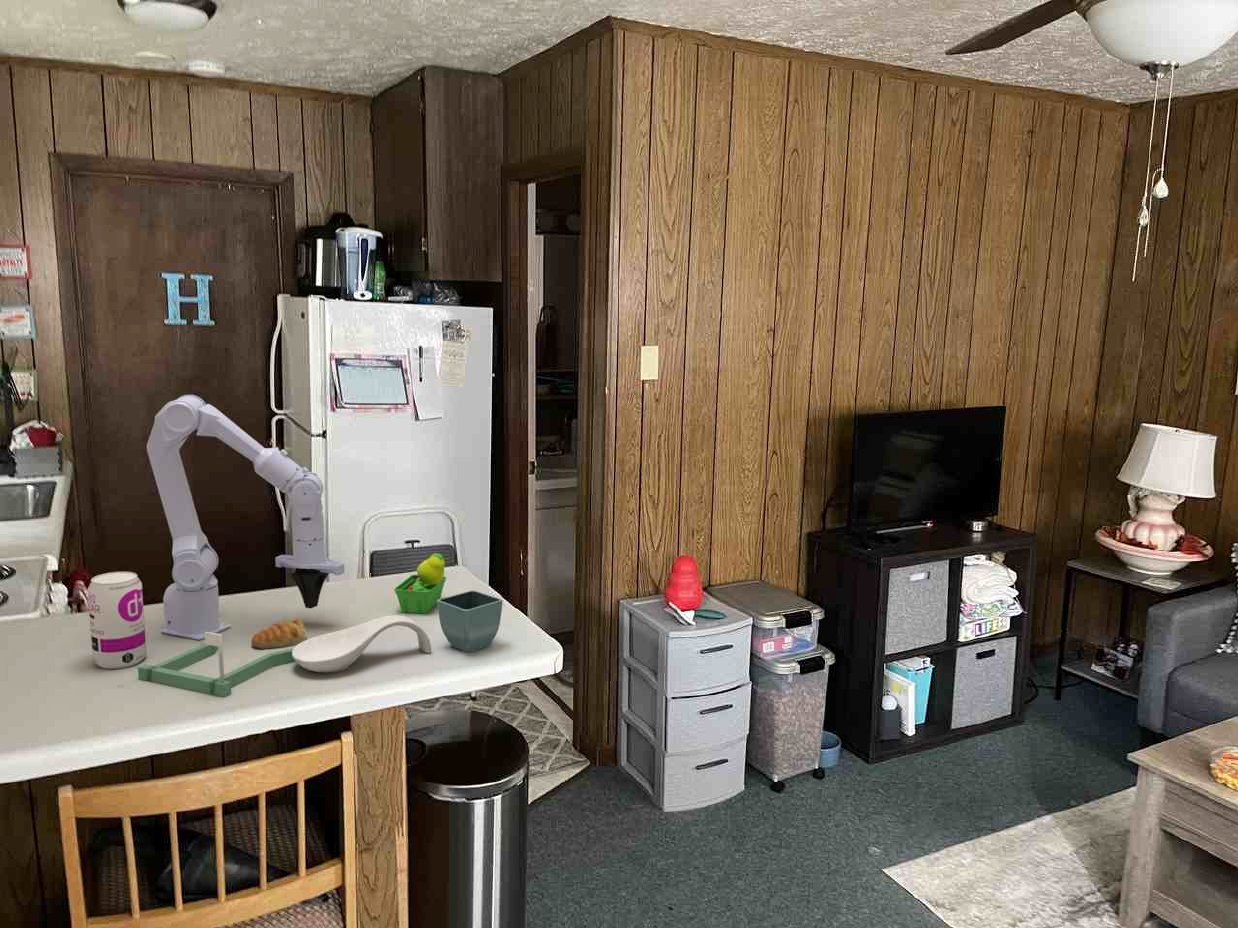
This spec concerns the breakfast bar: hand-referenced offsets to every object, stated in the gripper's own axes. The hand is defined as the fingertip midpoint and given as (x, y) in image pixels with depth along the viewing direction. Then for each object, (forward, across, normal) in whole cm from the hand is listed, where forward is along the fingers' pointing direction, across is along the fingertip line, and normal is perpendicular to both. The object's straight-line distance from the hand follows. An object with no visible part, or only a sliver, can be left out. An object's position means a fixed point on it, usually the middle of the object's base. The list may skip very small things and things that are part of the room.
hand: (311, 606), depth 188 cm
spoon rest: (+4, -19, +10) cm, 22 cm away
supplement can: (+4, +18, +28) cm, 34 cm away
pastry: (+4, -1, +9) cm, 10 cm away
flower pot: (+4, -33, -3) cm, 33 cm away
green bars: (+4, 0, +24) cm, 24 cm away
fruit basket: (+4, -13, -19) cm, 23 cm away
